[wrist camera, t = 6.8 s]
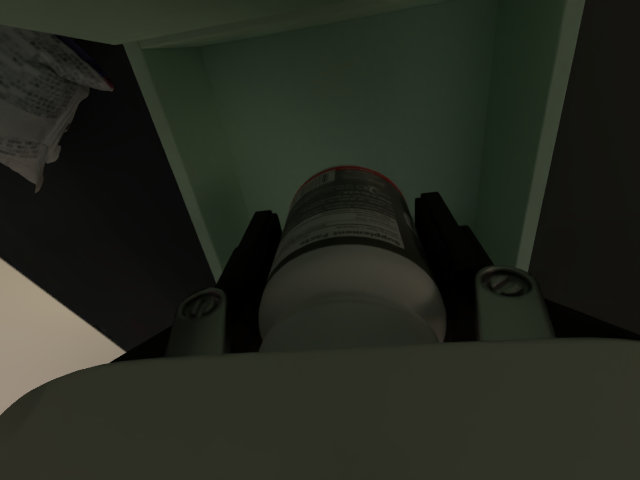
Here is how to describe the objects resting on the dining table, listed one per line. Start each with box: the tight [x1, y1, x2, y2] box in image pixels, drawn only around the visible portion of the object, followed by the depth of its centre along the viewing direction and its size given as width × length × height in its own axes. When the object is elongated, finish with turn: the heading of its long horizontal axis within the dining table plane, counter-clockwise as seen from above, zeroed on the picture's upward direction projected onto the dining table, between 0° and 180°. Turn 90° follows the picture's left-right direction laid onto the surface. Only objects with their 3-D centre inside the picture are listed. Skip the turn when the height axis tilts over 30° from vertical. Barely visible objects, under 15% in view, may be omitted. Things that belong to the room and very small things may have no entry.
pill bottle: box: [258, 164, 446, 352], centre depth 10 cm, size 5×5×8 cm
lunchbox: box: [123, 0, 585, 284], centre depth 17 cm, size 16×15×6 cm
